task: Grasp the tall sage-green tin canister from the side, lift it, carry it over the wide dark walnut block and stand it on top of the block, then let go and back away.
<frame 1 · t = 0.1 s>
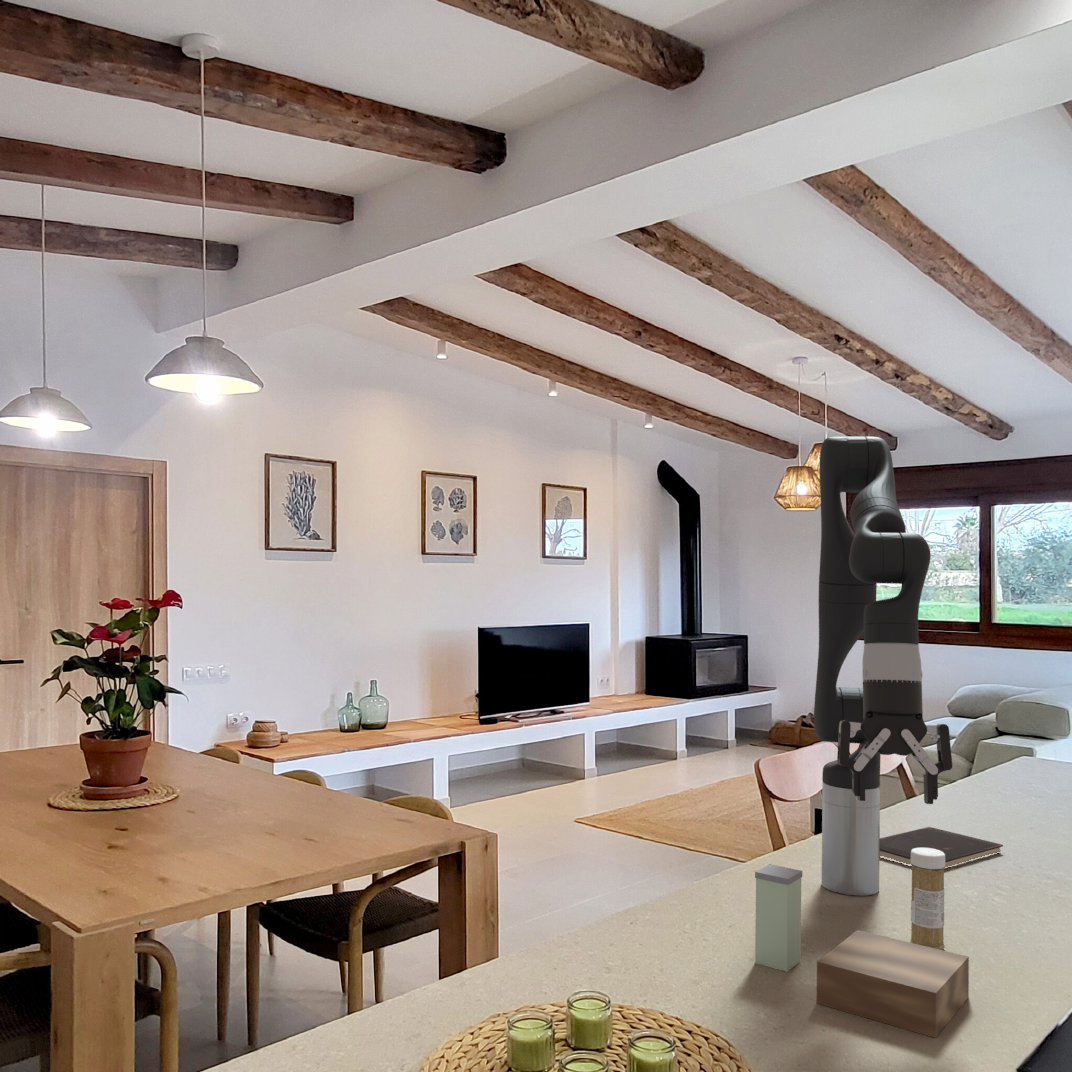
hand: (894, 802, 132), 22 cm above the kitchen counter, tool pointing down, fingers open, 8 cm apart
walnut block: (893, 1000, 122), on the kitchen counter
sprinkles bottle: (927, 948, 140), on the kitchen counter
green tin canister: (777, 962, 134), on the kitchen counter
hardcover book: (929, 856, 188), on the kitchen counter
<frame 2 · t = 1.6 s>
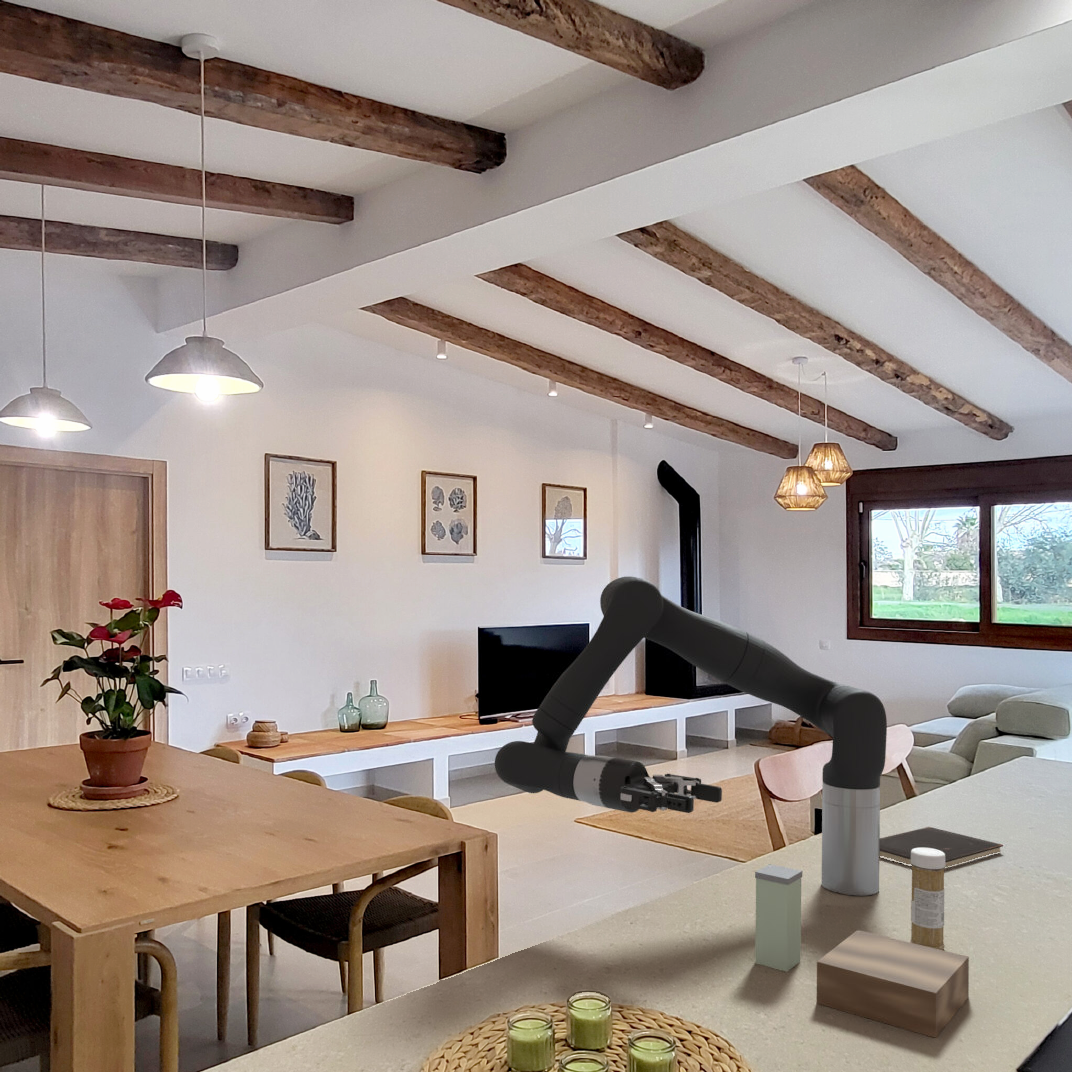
hand: (707, 800, 141), 20 cm above the kitchen counter, tool horizontal, fingers open, 8 cm apart
nothing on the kitchen counter moved.
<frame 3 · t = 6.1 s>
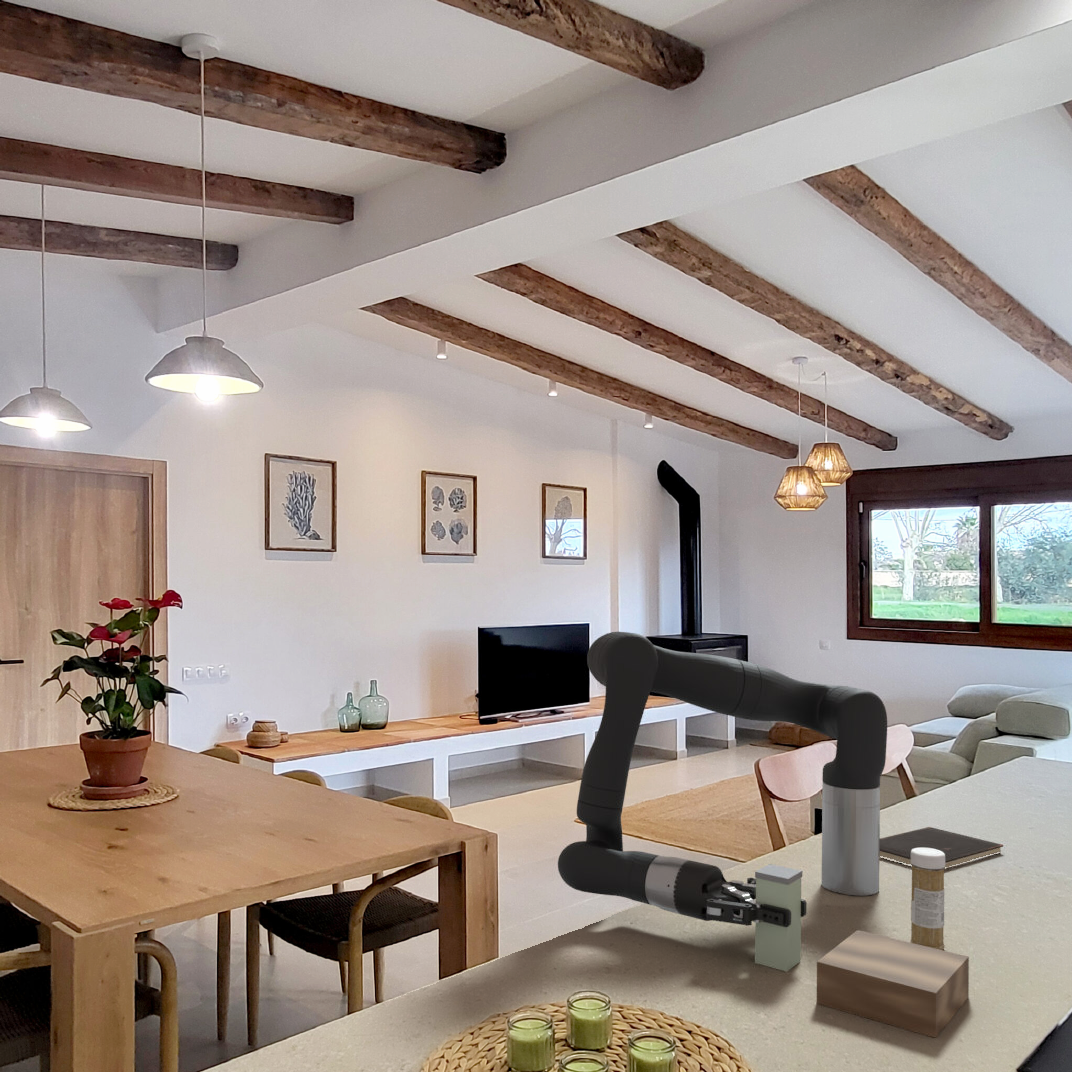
hand: (797, 913, 132), 7 cm above the kitchen counter, tool horizontal, fingers closed on green tin canister, 4 cm apart
green tin canister: (777, 962, 134), on the kitchen counter, touching gripper
everything else where it was.
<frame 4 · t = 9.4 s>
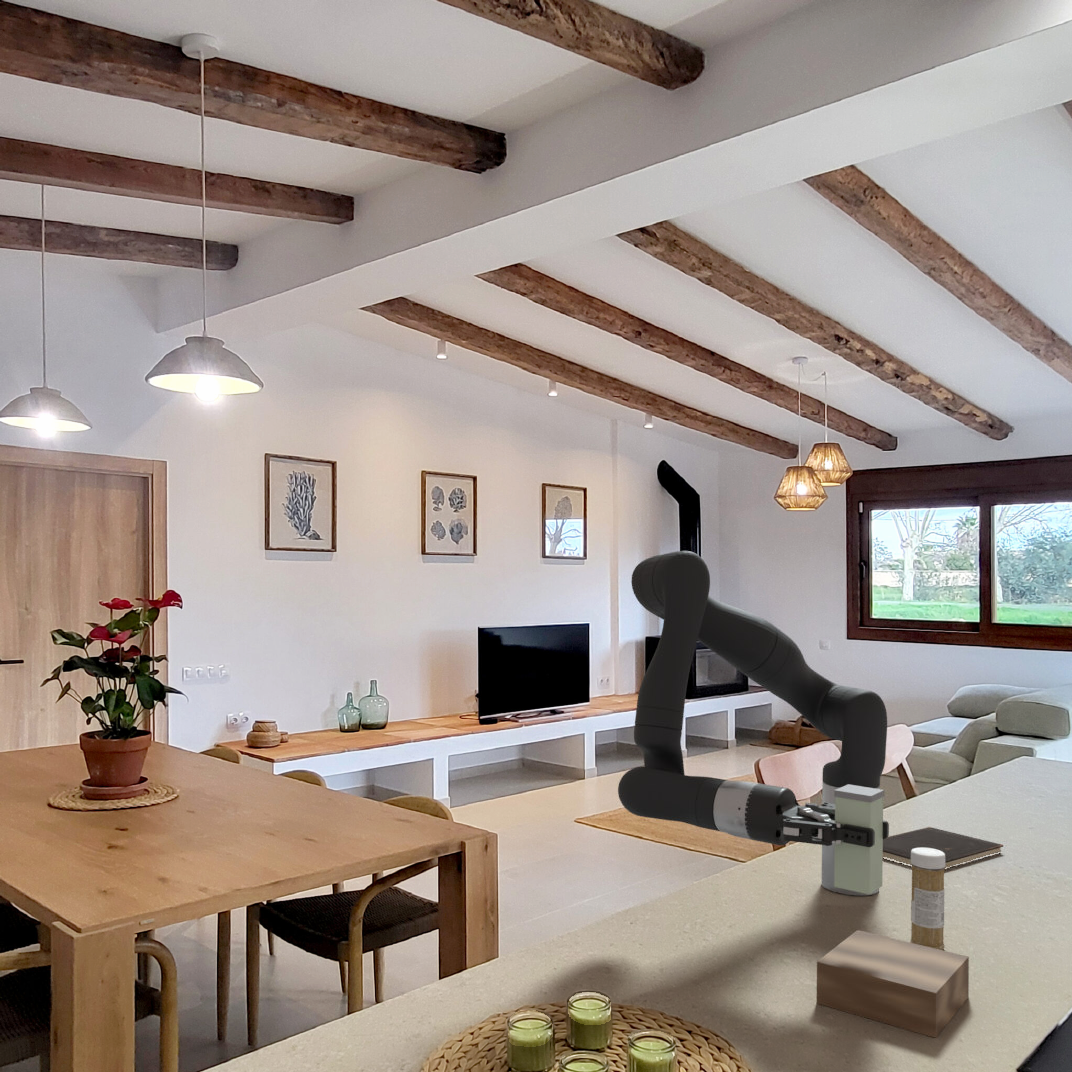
hand: (880, 834, 124), 20 cm above the kitchen counter, tool horizontal, fingers closed on green tin canister, 4 cm apart
green tin canister: (858, 886, 126), point 13 cm above the kitchen counter, touching gripper
everything else where it was.
when the fingers open (13 cm above the kitchen counter, at t = 12.7 s): green tin canister drops 1 cm, resting on walnut block.
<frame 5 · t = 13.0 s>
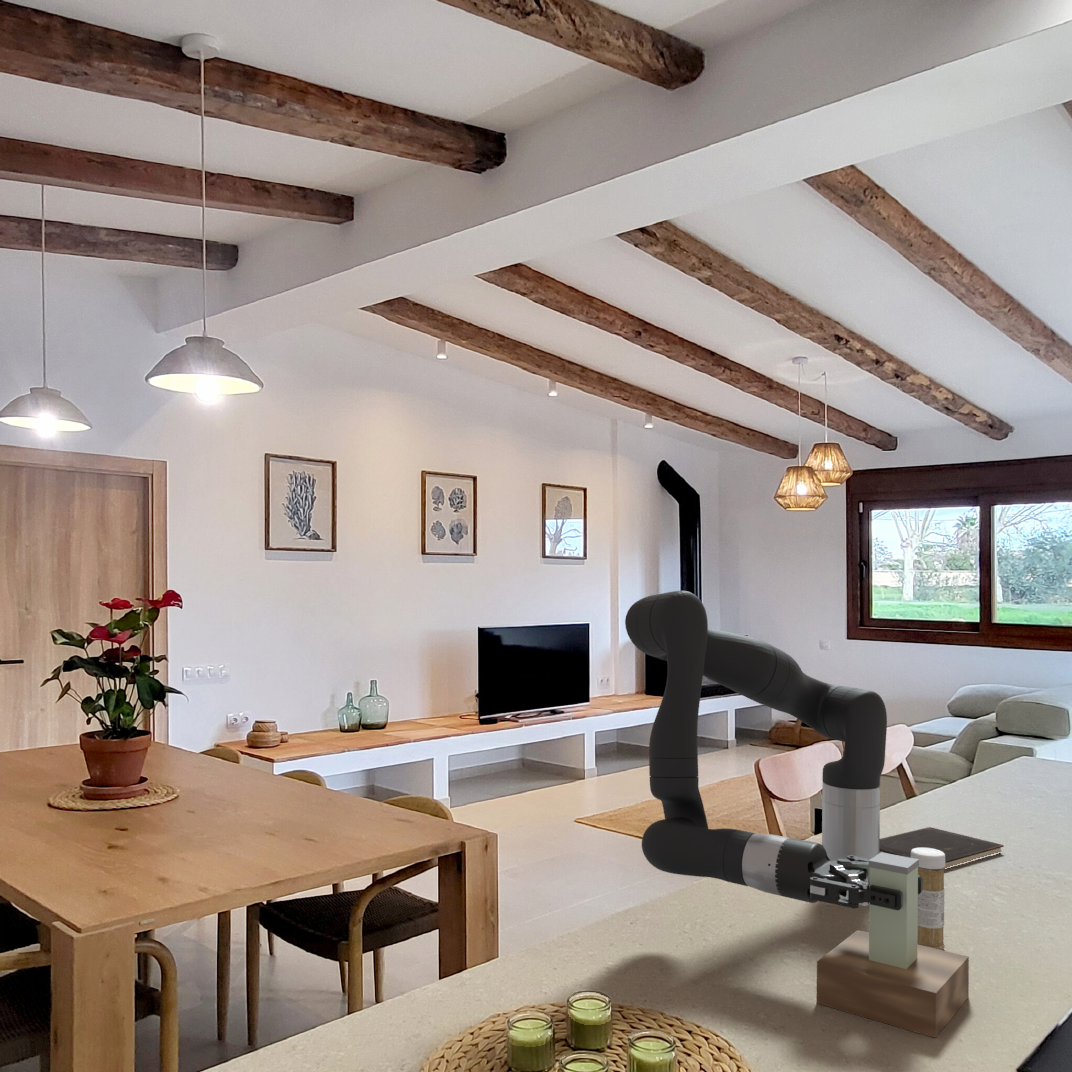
hand: (911, 893, 122), 14 cm above the kitchen counter, tool horizontal, fingers open, 7 cm apart
green tin canister: (893, 958, 123), point 5 cm above the kitchen counter, touching walnut block
everything else where it was.
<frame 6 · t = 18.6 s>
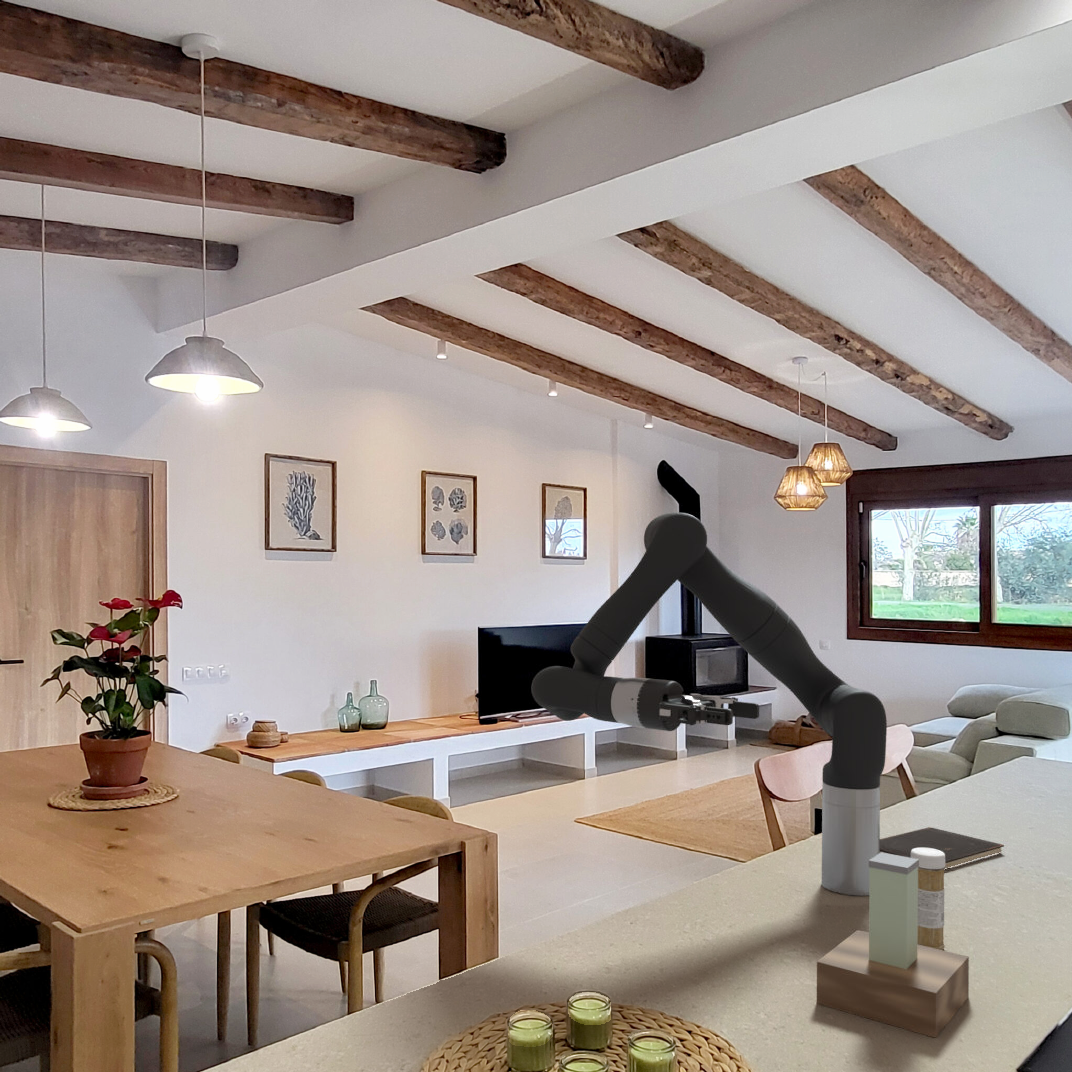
hand: (745, 714, 142), 32 cm above the kitchen counter, tool horizontal, fingers open, 8 cm apart
nothing on the kitchen counter moved.
at the end: green tin canister inside the target area on the walnut block (0.0 cm from its centre), point 5.0 cm above the walnut block's base; green tin canister tilted 0°; the gripper is holding nothing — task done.
